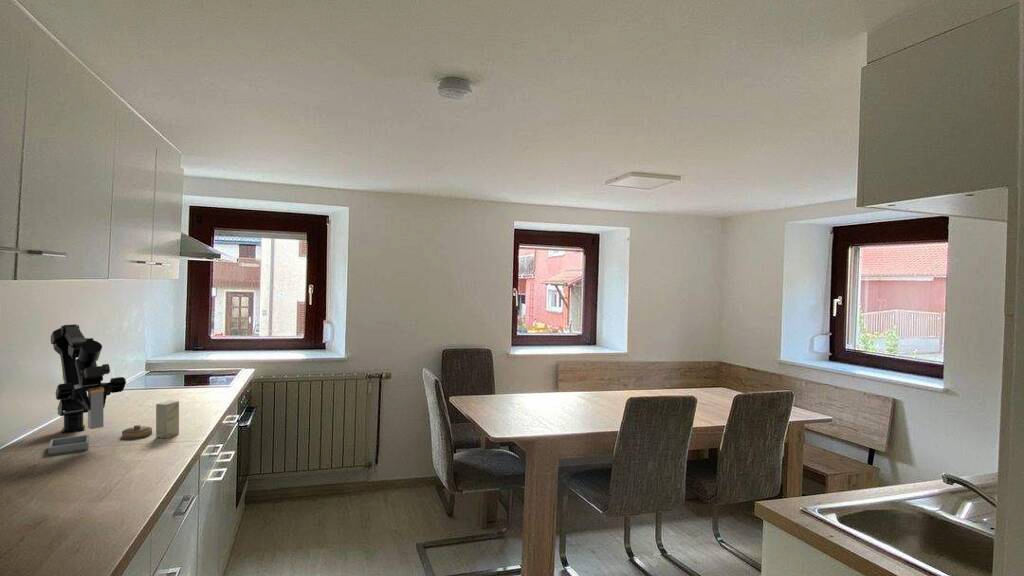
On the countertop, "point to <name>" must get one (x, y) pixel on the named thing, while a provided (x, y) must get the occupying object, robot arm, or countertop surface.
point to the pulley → (136, 432)
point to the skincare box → (167, 419)
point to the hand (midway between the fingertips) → (96, 408)
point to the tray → (68, 444)
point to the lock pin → (95, 407)
